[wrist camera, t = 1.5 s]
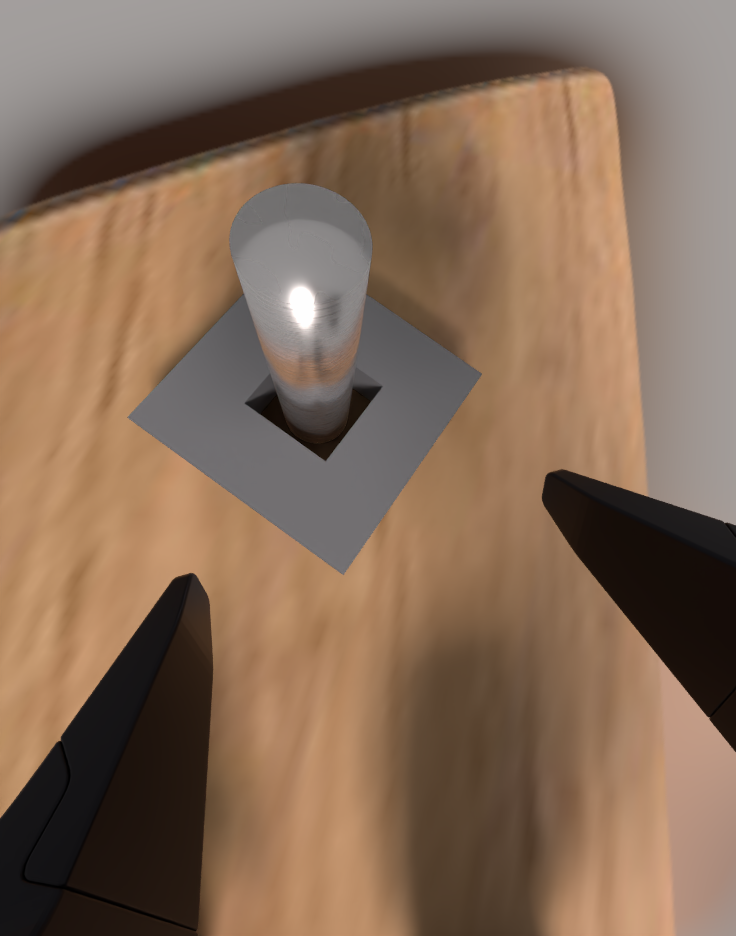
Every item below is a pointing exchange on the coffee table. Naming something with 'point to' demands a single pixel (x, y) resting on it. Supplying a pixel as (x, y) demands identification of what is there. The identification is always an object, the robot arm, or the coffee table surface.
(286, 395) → the steel peg
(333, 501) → the pocket block
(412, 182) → the coffee table surface
